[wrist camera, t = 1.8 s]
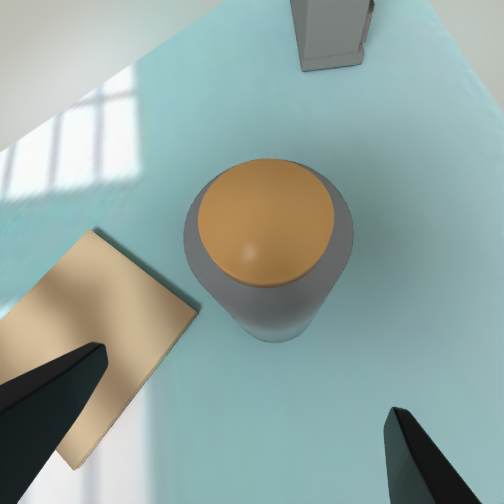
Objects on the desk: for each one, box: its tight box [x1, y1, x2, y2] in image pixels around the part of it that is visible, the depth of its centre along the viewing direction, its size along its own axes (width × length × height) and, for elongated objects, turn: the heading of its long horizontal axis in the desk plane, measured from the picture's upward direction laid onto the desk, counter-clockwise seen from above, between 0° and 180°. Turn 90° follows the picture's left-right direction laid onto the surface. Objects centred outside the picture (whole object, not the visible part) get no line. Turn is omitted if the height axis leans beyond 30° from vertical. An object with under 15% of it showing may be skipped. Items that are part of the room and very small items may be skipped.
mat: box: [0, 229, 198, 471], centre depth 22 cm, size 12×12×1 cm
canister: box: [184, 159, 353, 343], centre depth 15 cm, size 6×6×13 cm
